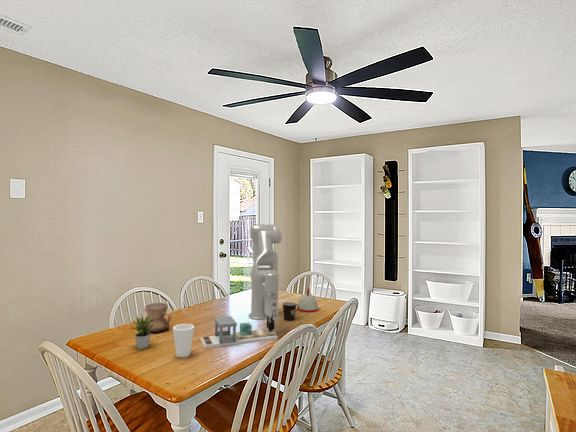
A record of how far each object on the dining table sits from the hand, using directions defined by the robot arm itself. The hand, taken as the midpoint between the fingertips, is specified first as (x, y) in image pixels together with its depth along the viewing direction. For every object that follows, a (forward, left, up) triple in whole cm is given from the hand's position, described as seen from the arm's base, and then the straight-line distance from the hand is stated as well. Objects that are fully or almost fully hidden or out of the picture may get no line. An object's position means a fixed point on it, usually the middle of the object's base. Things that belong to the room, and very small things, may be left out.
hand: (270, 328), depth 191 cm
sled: (+8, 0, -2) cm, 9 cm away
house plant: (+64, -5, -4) cm, 64 cm away
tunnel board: (+17, 0, -4) cm, 18 cm away
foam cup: (+47, +10, -4) cm, 48 cm away
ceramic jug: (+57, -30, -4) cm, 65 cm away
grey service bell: (-43, -41, -4) cm, 60 cm away
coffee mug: (-23, -24, -4) cm, 34 cm away
